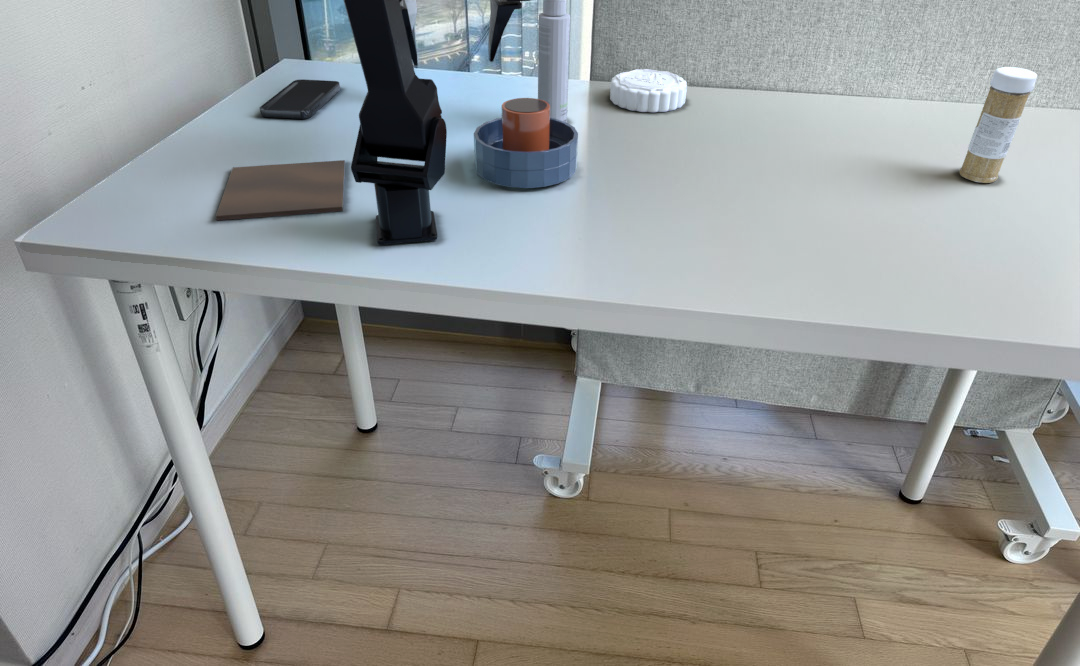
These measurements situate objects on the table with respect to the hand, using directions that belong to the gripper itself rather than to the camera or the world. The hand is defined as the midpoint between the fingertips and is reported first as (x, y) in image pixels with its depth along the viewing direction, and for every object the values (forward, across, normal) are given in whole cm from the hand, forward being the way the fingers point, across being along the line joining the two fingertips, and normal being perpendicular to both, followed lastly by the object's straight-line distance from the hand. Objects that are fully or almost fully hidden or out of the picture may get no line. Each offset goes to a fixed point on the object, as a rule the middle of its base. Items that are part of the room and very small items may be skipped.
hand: (453, 62), depth 91 cm
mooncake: (+13, -33, -20) cm, 40 cm away
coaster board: (+13, +22, +4) cm, 26 cm away
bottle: (+13, -16, -13) cm, 24 cm away
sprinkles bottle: (+13, -65, +17) cm, 68 cm away
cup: (+12, -8, +4) cm, 15 cm away
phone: (+13, +21, -29) cm, 38 cm away
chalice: (+13, +5, -27) cm, 31 cm away
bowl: (+13, -8, +4) cm, 16 cm away
